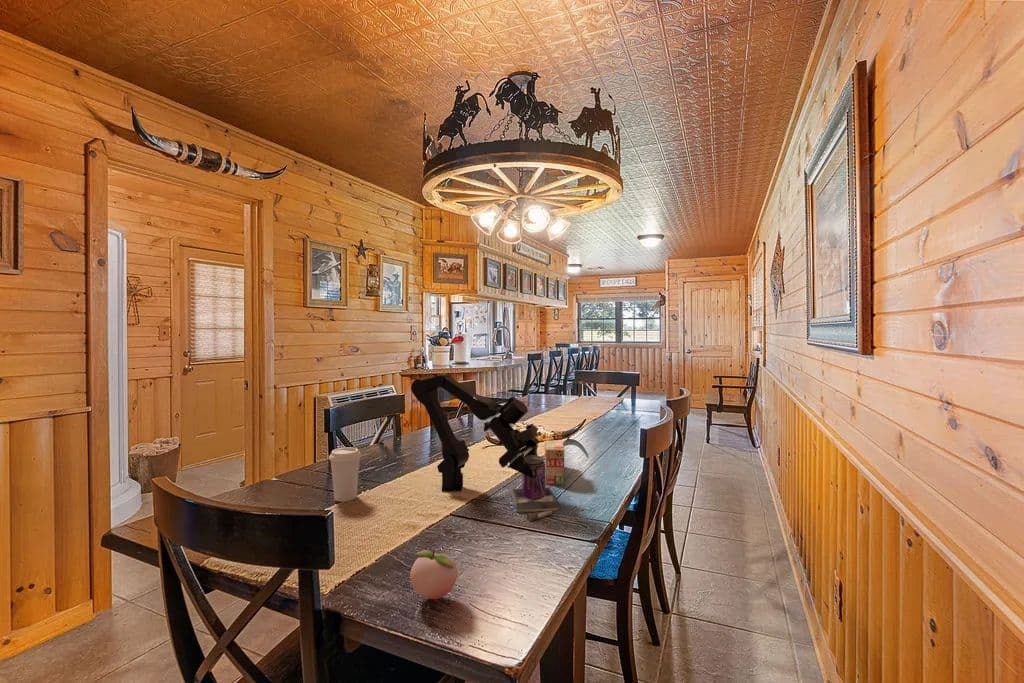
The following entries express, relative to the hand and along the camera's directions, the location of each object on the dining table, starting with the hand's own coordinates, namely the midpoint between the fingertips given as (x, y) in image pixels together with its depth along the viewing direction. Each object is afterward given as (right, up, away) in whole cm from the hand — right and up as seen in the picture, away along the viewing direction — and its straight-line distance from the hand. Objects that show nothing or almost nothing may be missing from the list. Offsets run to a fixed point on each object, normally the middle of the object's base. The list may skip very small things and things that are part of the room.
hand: (537, 473), depth 143 cm
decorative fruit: (-23, -11, -50) cm, 56 cm away
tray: (-1, -9, +1) cm, 9 cm away
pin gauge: (0, -10, -10) cm, 14 cm away
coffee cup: (-60, -9, +5) cm, 61 cm away
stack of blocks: (+8, -9, +29) cm, 31 cm away
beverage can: (-1, -8, +2) cm, 8 cm away
